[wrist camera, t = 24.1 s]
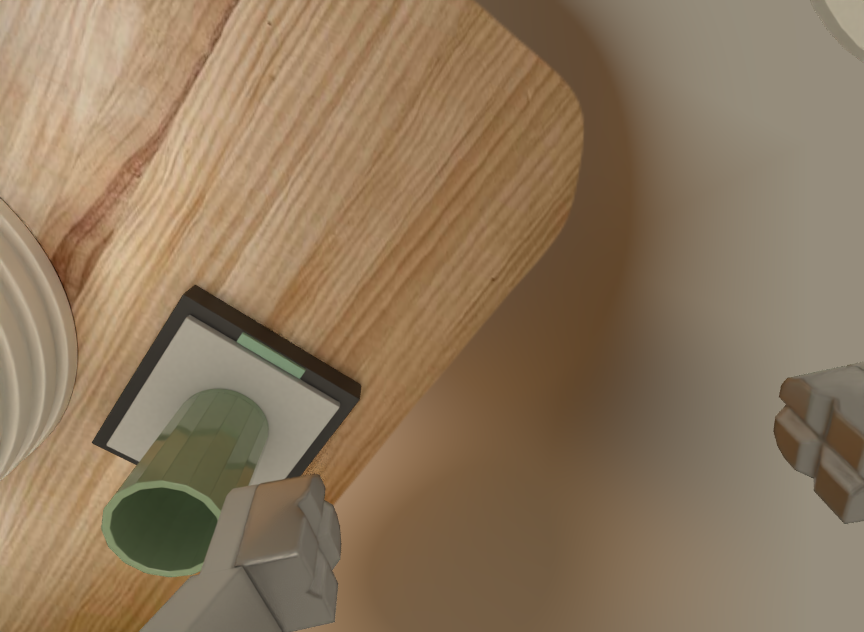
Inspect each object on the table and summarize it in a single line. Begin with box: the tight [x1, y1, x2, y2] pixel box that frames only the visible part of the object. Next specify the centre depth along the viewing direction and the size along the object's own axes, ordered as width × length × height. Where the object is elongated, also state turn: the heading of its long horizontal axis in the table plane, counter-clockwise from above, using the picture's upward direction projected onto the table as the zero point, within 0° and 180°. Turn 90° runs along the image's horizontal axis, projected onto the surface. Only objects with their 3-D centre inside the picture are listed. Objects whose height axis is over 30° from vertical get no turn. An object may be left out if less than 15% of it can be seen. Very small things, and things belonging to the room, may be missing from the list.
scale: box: [92, 285, 361, 485], centre depth 39 cm, size 14×14×3 cm
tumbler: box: [101, 389, 269, 577], centre depth 33 cm, size 6×6×10 cm
